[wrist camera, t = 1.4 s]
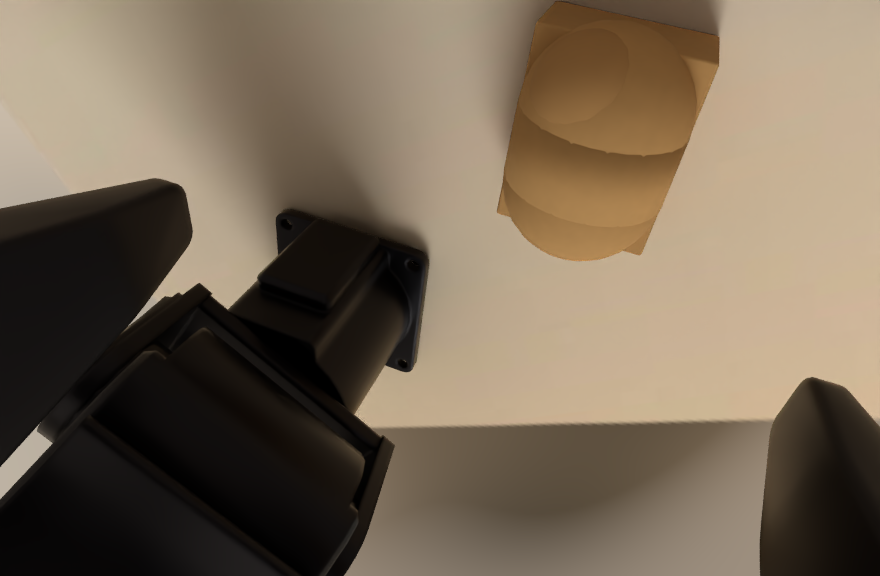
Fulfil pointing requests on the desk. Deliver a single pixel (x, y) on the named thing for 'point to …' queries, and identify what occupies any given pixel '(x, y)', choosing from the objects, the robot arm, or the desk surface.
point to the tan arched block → (601, 129)
